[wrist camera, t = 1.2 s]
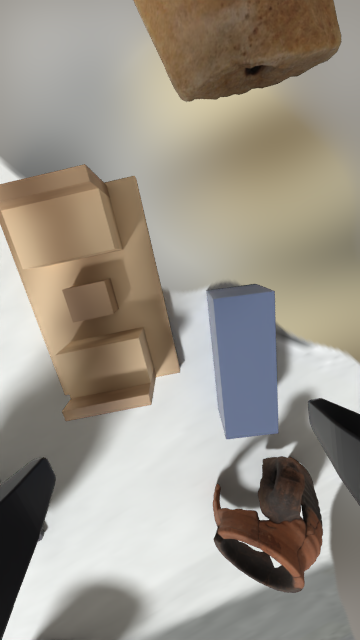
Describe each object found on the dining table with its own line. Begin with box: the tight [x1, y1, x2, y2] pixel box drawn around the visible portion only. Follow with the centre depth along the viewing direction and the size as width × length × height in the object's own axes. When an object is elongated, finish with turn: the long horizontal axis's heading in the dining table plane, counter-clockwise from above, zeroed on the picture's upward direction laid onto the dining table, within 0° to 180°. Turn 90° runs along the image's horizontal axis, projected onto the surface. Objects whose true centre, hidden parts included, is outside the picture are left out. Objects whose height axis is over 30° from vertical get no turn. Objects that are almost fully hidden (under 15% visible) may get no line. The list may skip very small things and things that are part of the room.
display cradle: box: [0, 164, 180, 421], centre depth 17 cm, size 10×15×5 cm, turn 12°
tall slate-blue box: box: [207, 284, 278, 439], centre depth 19 cm, size 11×4×4 cm, turn 7°
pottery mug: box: [213, 456, 323, 593], centre depth 22 cm, size 12×10×8 cm
